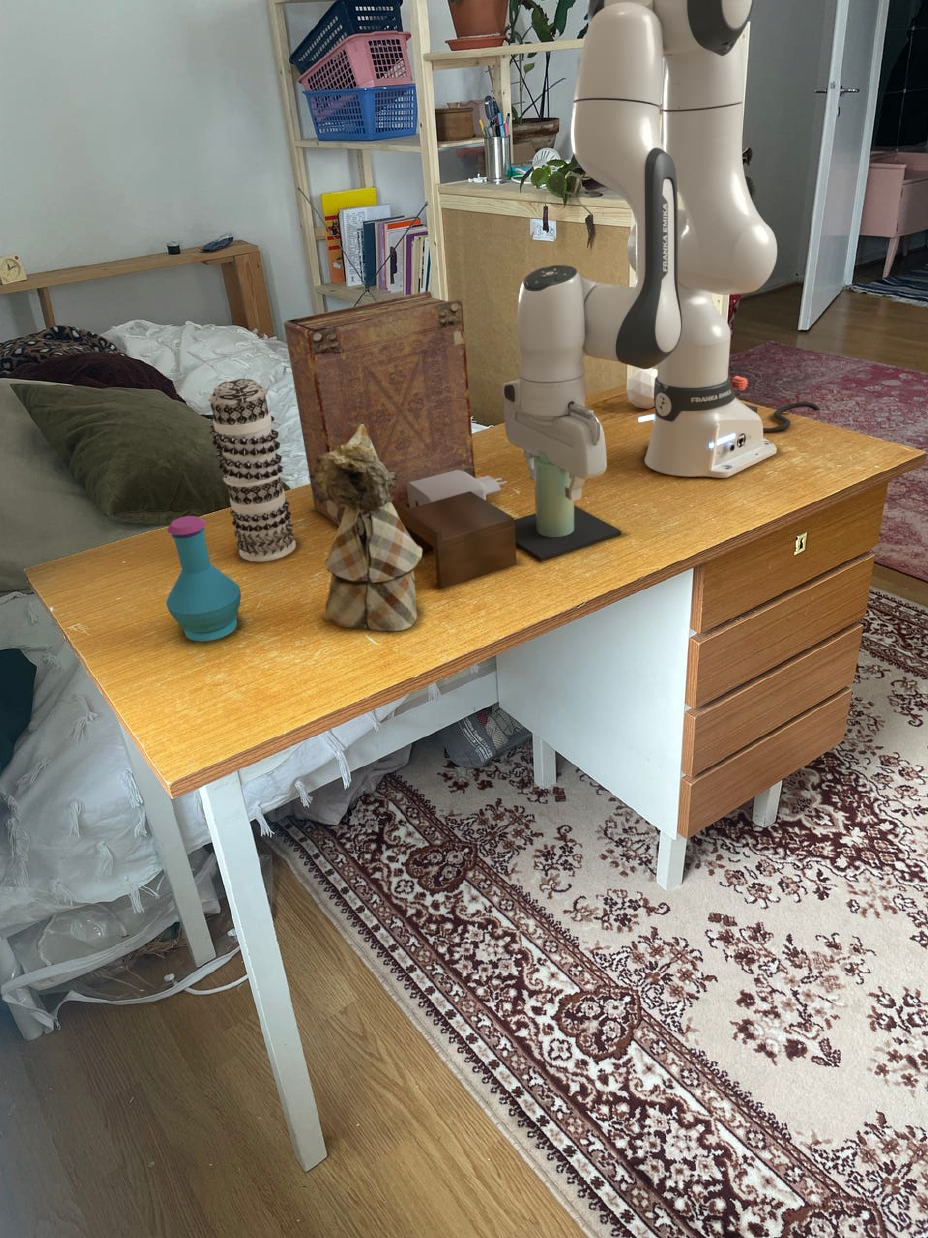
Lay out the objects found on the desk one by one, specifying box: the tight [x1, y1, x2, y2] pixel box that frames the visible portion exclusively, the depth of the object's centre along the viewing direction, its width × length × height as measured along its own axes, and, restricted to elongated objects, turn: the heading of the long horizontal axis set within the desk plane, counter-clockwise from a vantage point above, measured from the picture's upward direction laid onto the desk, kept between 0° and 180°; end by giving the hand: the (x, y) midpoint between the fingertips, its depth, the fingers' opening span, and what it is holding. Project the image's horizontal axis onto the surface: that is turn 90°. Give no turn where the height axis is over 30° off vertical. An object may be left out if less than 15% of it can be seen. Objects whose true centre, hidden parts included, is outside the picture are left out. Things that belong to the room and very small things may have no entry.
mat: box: [514, 505, 622, 562], centre depth 138 cm, size 14×13×1 cm
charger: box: [407, 470, 508, 508], centre depth 148 cm, size 5×9×15 cm
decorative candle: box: [207, 378, 297, 563], centre depth 134 cm, size 9×9×25 cm
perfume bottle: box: [165, 515, 242, 642], centre depth 118 cm, size 9×9×15 cm
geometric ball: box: [625, 367, 658, 410], centre depth 182 cm, size 8×8×8 cm
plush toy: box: [308, 424, 423, 632], centre depth 116 cm, size 14×14×25 cm
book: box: [283, 290, 476, 526], centre depth 146 cm, size 25×9×30 cm, turn 123°
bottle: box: [533, 451, 575, 537], centre depth 134 cm, size 6×6×16 cm
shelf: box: [395, 491, 518, 590], centre depth 131 cm, size 12×12×8 cm
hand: (555, 488), depth 135 cm, fingers open, 8 cm apart
